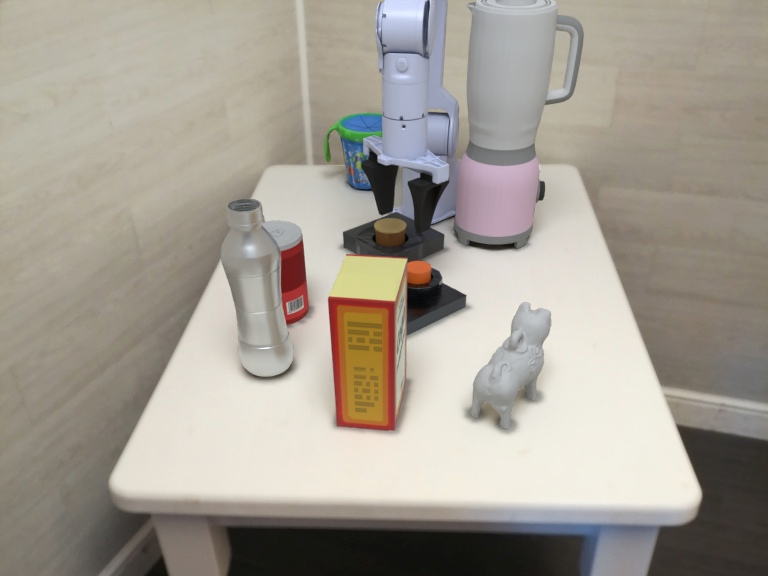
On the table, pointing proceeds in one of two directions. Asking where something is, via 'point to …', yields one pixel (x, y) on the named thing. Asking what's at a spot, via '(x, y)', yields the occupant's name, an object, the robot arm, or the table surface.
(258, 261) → the plastic bottle
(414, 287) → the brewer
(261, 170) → the table surface
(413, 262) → the button
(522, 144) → the blender
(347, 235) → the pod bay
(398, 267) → the baking soda box
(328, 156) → the snack cup
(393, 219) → the coffee pod
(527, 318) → the dog figurine
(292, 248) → the canned food
